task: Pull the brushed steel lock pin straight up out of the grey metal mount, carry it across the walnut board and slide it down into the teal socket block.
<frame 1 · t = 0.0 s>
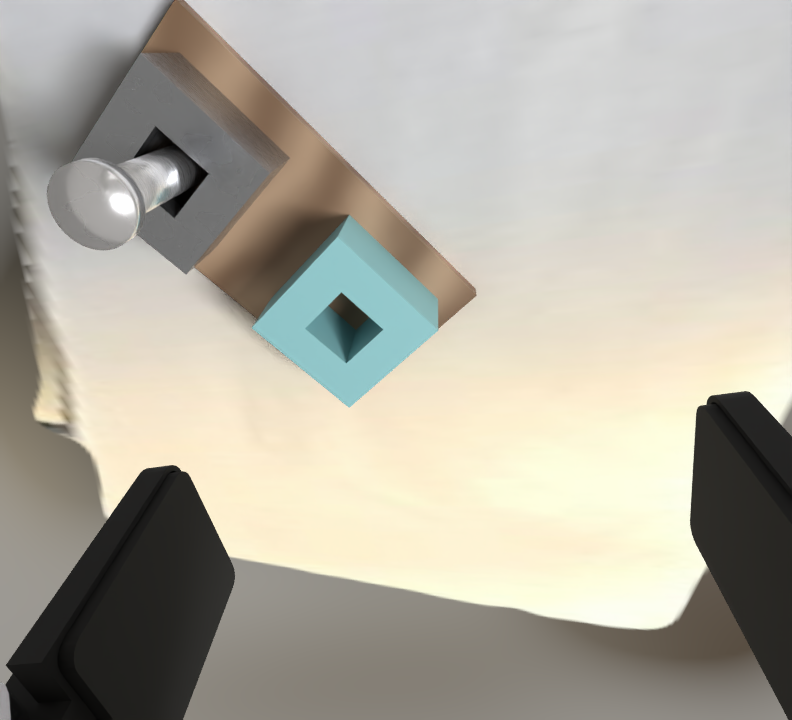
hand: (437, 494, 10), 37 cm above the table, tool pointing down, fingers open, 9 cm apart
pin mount: (205, 155, 44), resting on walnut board
teal socket: (356, 291, 49), resting on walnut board
lock pin: (198, 158, 43), point 1 cm above the table, touching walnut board
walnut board: (284, 227, 46), on the table
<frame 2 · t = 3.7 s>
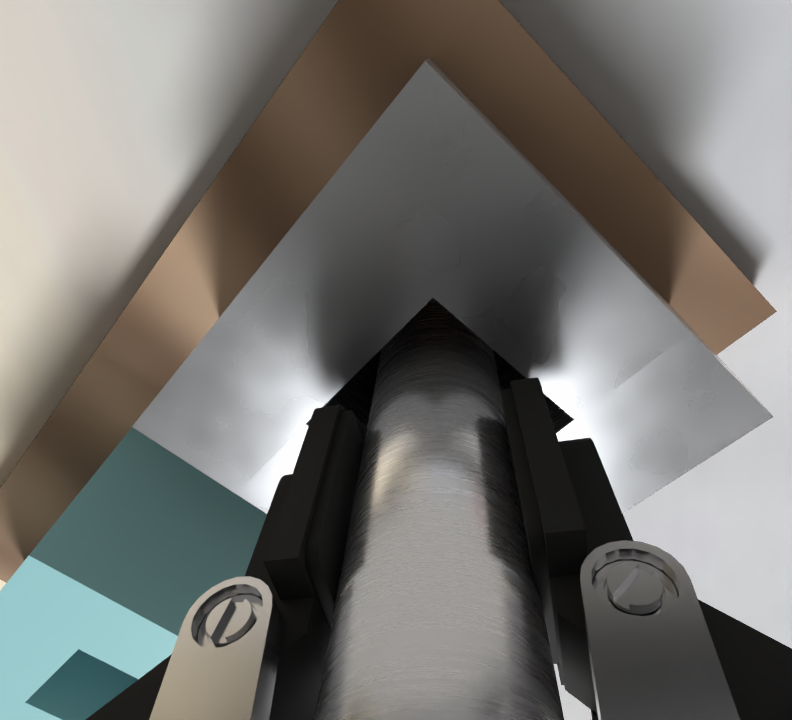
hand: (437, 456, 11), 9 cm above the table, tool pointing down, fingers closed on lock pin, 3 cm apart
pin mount: (436, 293, 19), resting on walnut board
teal socket: (192, 535, 25), resting on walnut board
lock pin: (436, 311, 18), point 1 cm above the table, touching gripper, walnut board
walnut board: (297, 432, 22), on the table
when the fingers open (10 cm above the table, at t = 10.9 s): lock pin drops 1 cm, resting on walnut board.
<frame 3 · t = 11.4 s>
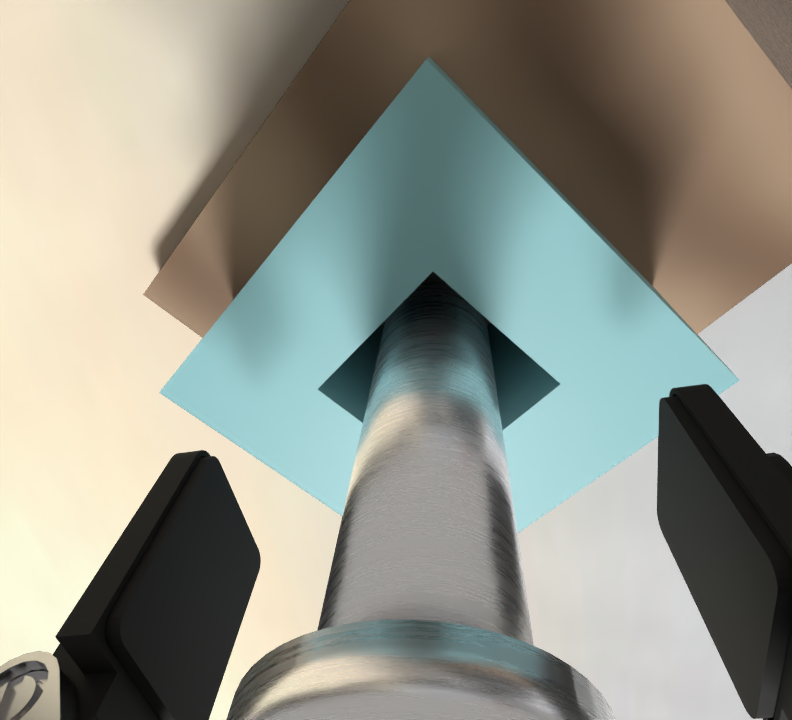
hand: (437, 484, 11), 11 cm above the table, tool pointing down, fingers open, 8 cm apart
teal socket: (436, 278, 20), resting on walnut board
lock pin: (436, 293, 19), point 2 cm above the table, touching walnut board
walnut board: (617, 95, 17), on the table
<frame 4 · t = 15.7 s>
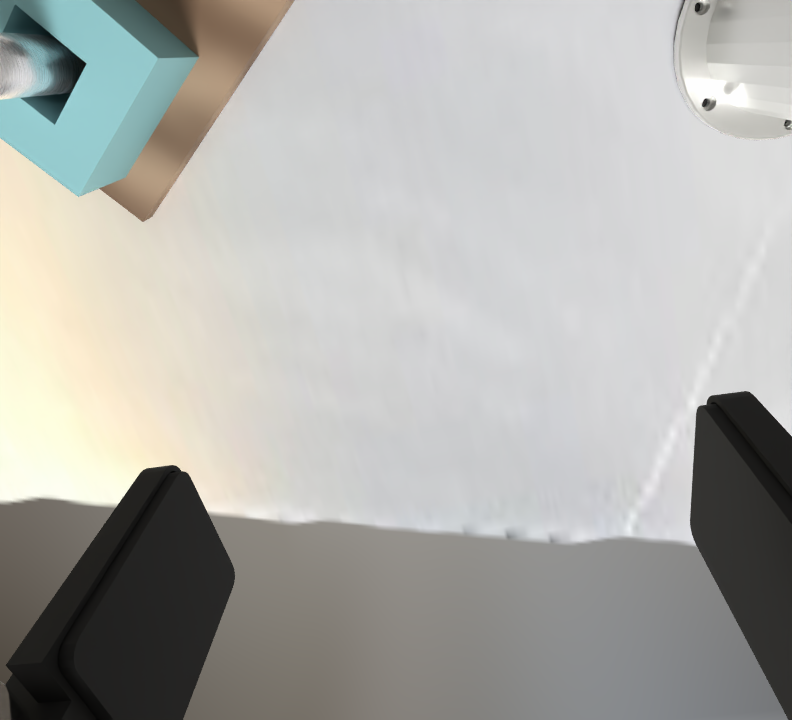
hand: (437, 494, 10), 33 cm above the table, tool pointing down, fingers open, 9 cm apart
teal socket: (105, 64, 38), resting on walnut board
lock pin: (93, 64, 36), point 2 cm above the table, touching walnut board
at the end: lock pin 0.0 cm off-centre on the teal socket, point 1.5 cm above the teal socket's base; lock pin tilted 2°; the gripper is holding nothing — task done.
